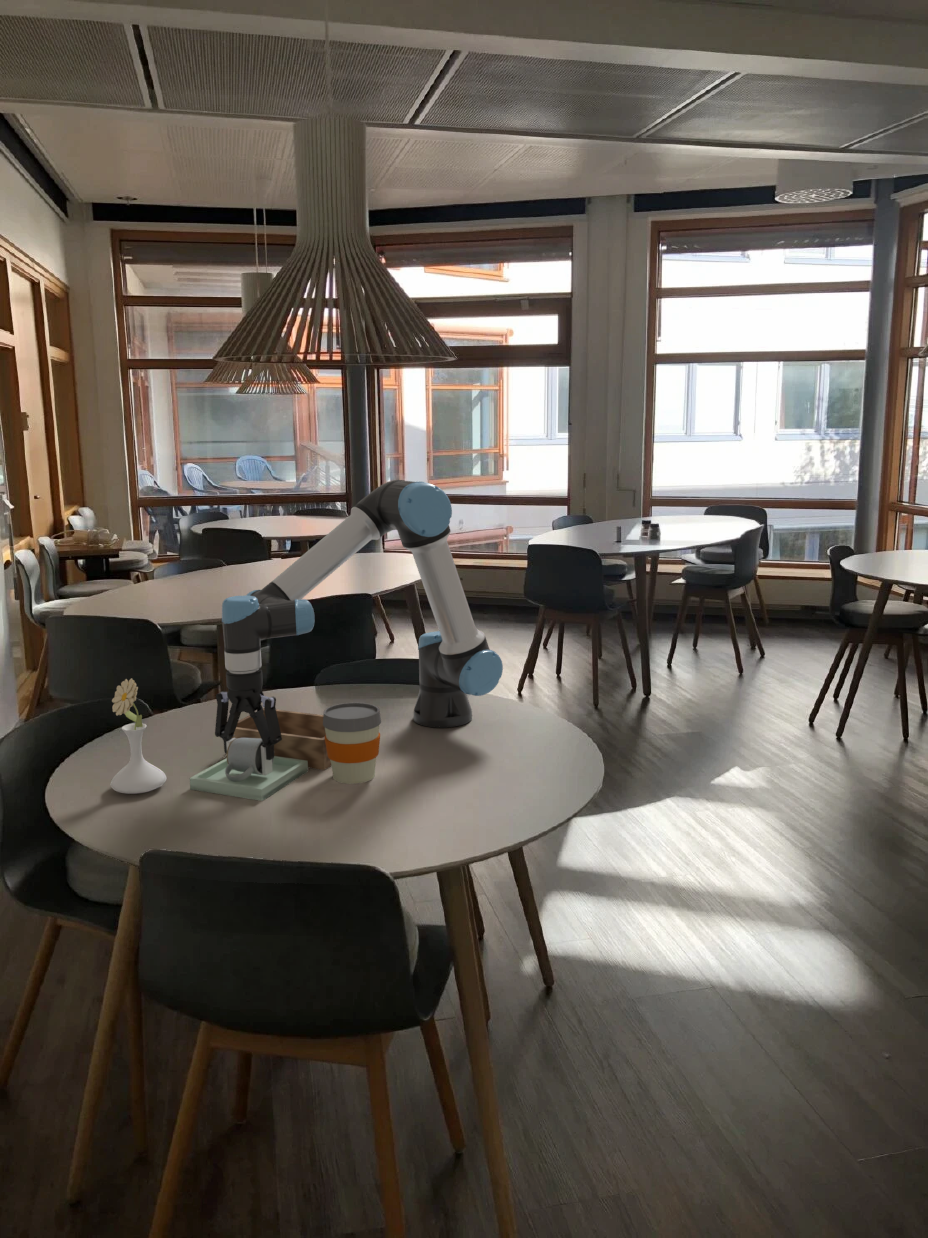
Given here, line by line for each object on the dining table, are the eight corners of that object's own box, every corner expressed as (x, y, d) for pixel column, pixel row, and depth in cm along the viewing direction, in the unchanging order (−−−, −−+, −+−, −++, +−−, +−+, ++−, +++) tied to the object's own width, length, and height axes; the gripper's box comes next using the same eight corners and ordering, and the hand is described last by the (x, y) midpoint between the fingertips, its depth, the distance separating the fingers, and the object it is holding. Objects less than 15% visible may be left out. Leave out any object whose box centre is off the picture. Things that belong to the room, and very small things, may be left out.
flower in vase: (109, 783, 212) (98, 671, 206) (163, 775, 216) (155, 665, 211) (113, 805, 200) (102, 687, 195) (171, 796, 204) (162, 680, 199)
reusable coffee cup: (358, 762, 223) (356, 698, 220) (394, 776, 214) (392, 710, 211) (313, 776, 214) (310, 711, 211) (349, 791, 205) (346, 723, 202)
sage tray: (308, 771, 217) (307, 760, 217) (262, 801, 201) (261, 789, 200) (240, 761, 224) (239, 751, 223) (190, 789, 208) (189, 778, 207)
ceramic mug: (244, 763, 217) (242, 730, 215) (276, 767, 214) (274, 734, 212) (216, 780, 208) (213, 746, 206) (248, 785, 205) (246, 751, 203)
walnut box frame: (358, 747, 232) (357, 719, 231) (324, 770, 218) (323, 740, 216) (265, 735, 242) (264, 708, 241) (227, 756, 228) (225, 727, 226)
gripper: (295, 669, 207) (301, 770, 212) (213, 660, 215) (220, 759, 219) (276, 678, 200) (282, 783, 205) (192, 669, 208) (199, 770, 213)
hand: (250, 770), depth 212 cm, fingers closed on ceramic mug, 8 cm apart
